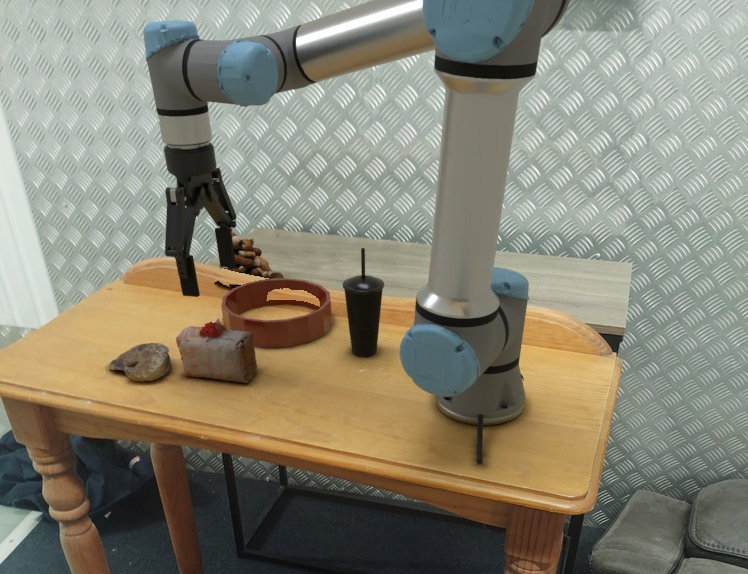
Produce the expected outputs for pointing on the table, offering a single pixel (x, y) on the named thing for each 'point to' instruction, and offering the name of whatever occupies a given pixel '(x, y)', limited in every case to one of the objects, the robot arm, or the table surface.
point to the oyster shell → (144, 362)
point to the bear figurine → (250, 259)
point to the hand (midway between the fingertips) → (210, 280)
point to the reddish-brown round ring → (277, 330)
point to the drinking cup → (363, 310)
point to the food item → (217, 352)
